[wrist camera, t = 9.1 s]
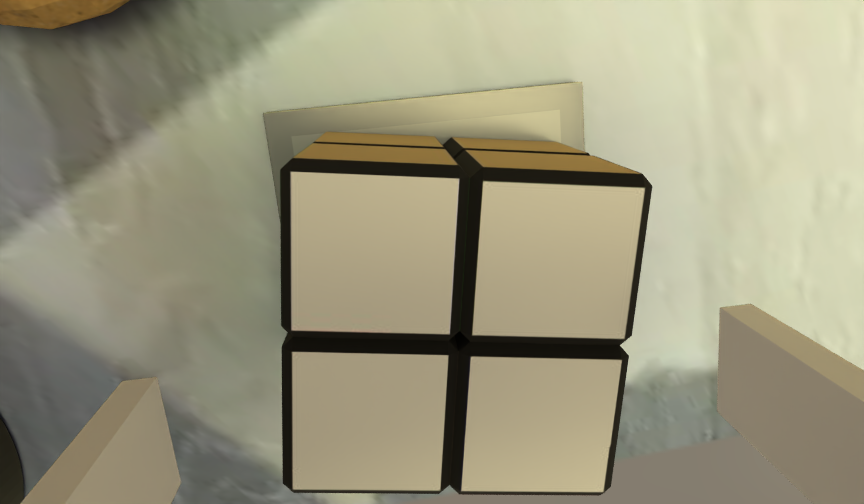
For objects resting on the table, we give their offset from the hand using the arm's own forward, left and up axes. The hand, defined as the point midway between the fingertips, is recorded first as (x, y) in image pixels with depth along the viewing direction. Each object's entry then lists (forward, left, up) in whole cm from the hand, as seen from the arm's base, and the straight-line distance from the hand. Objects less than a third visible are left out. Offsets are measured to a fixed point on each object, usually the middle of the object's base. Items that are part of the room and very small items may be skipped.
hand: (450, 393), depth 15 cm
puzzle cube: (0, 0, -13) cm, 13 cm away
